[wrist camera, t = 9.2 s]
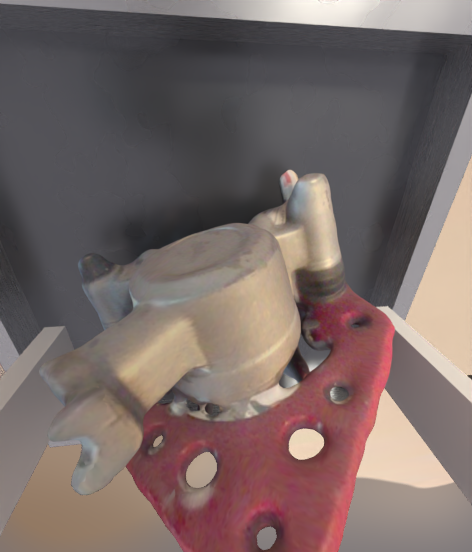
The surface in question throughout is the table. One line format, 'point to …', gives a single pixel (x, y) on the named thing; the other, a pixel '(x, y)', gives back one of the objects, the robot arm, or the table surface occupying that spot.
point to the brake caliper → (229, 377)
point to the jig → (222, 138)
